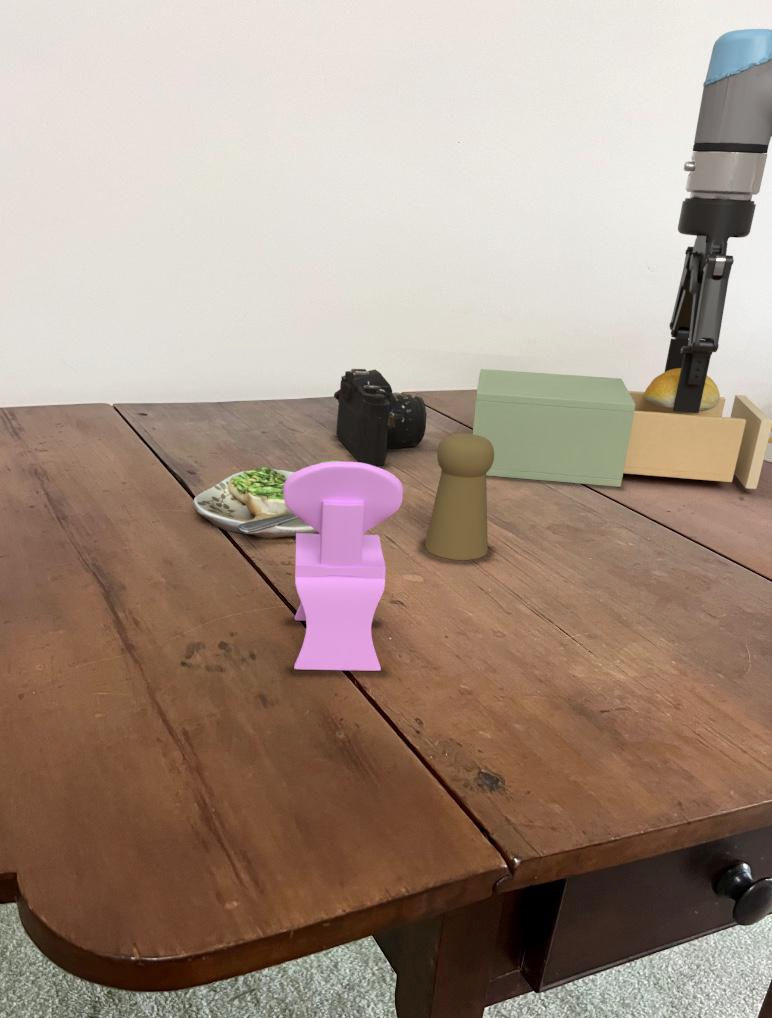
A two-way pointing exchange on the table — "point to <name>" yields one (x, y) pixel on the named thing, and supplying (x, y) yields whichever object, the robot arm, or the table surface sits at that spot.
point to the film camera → (376, 416)
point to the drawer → (698, 442)
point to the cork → (461, 498)
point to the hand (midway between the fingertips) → (678, 402)
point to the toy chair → (340, 560)
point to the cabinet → (555, 426)
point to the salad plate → (252, 504)
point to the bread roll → (666, 388)
